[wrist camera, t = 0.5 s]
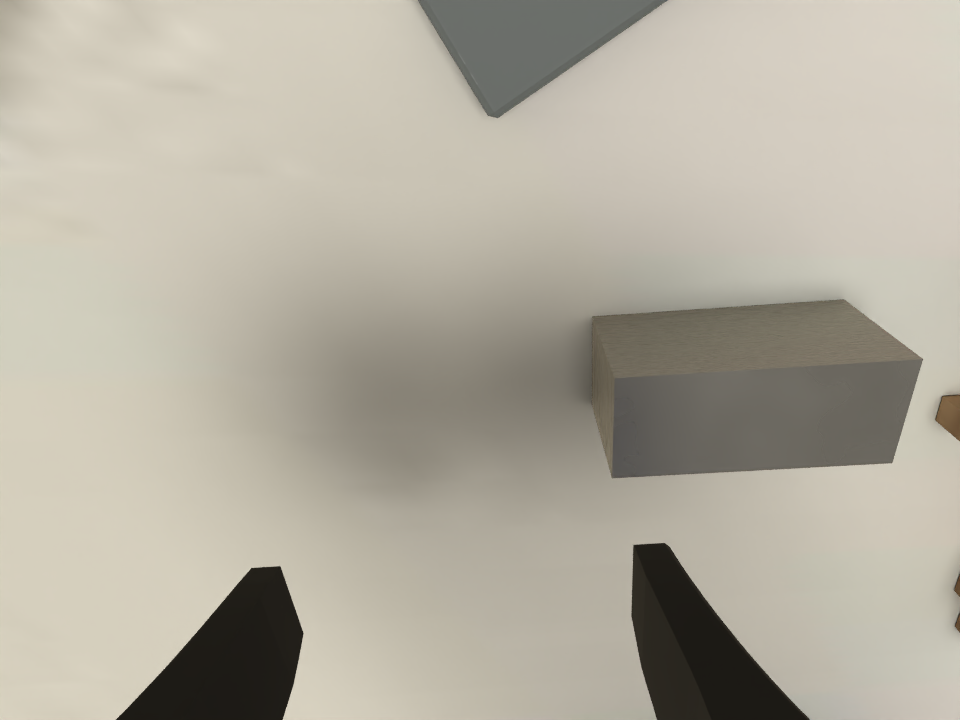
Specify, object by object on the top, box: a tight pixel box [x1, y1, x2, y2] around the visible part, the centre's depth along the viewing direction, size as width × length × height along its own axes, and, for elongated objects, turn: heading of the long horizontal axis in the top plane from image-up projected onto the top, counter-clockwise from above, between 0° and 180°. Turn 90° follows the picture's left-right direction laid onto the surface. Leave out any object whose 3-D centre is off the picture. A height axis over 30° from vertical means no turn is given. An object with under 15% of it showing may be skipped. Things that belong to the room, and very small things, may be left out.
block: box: [592, 300, 923, 478], centre depth 19 cm, size 3×8×4 cm, turn 95°
